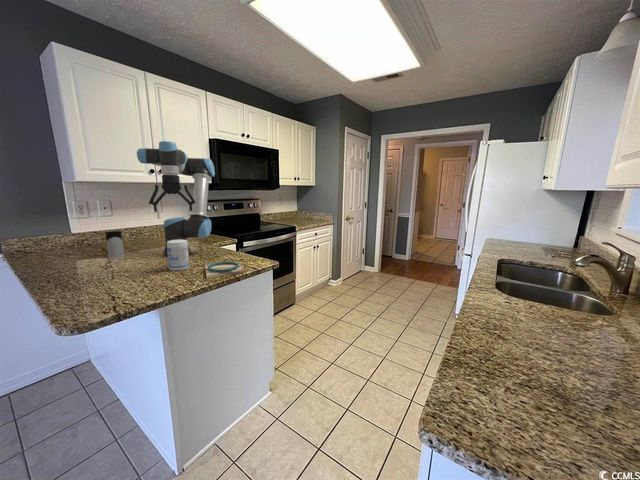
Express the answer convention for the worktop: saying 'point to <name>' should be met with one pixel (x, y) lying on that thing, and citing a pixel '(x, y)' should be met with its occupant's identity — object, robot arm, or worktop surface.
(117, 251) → the glass holder
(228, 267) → the nest board
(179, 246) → the supplement tub
